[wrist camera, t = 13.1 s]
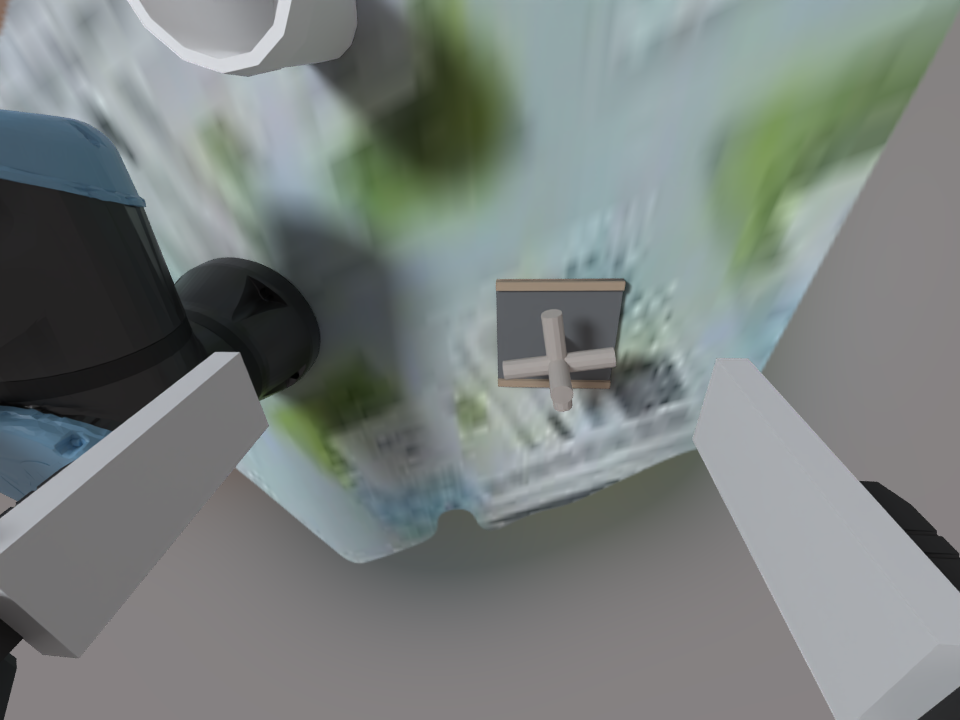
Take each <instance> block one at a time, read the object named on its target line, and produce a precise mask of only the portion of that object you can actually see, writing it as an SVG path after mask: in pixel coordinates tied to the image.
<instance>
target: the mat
mask: <svg viewBox="0 0 960 720" xmlns="http://www.w3.org/2000/svg"><path fill="white" fill-rule="evenodd" d="M625 283H626V282H625V280H624V279H497V280H496V297H497V344H498V386H499V387H549V388H550V383H549V375H544V376H536V377H527V378H519V379H510V380H505V378H504V374H503V361H506V360H514V359H522V358H530V357H538V356H545V355H546V349H545V341H544V334H543V327H542V320H541V314H542V313H543V312H544V311H547V310H550V309H557V310H561V311H562V315H563V324H564V333H565V342H566V351H567V353H569V352H577V351H585V350H593V349H601V348H609V347H613V348H614V349H615V343H616V336H617V329H618V322H619V316H620V309H621V302H622V295H623V290H624V289H625ZM611 370H612V368H604V369H595V370H587V371H578V372H570V378H571V383H572V388H599V389H610V383H611V382H610V377H611Z"/></svg>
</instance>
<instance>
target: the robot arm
mask: <svg viewBox="0 0 960 720" xmlns="http://www.w3.org/2000/svg"><path fill="white" fill-rule="evenodd" d="M144 207H146V203H145V200H144V199H143V198H141V197H140V196H139V195H138V193H137V191H136V189H135V186H134V184H133V182H132V180H131V178H130V176H129V174H128V171H127V169H126V167H125V165H124V163H123V161H122V158H121V156H120V154H119V152H118V150H117V149H116V147H115V145H114V144H113V143H112V142H111V141H110V139H109V138H108V137H107V136H105V135H104V134H103V133H102V132H100V131H99V130H98V129H96V128H94V127H93V126H91V125H89V124H87V123H84V122H81V121H78V120H75V119H71V118H65V117H58V116H51V115H43V114H35V113H27V112H19V111H10V110H1V109H0V493H2V494H4V495H6V496H8V497H10V498H12V499H14V500H16V501H17V502H16V506H15V507H10V508H8V509H7V510H6V511H4V512H3V513H2V514H1V515H0V720H4V716H5V712H6V708H7V704H8V701H9V697H10V693H11V688H12V685H13V681H14V677H15V673H16V669H17V665H16V658H15V657H14V656H12V655H11V654H10V651H12V649H13V648H14V647H15V646H16V645H17V644H18V643H19V642H20V641H21V640H22V639H24V640H25V641H26V642H28V643H29V644H30V645H31V646H33V647H34V648H35V649H36V650H37V651H39V652H40V653H41V654H42V655H51V656H60V657H71V658H80V657H81V655H82V654H83V653H84V652H85V650H86V649H87V648H88V647H89V646H90V644H91V643H92V642H93V641H94V639H95V638H96V637H97V636H98V634H99V633H100V632H101V631H102V630H103V628H104V627H105V626H106V625H107V624H108V622H109V621H110V620H111V619H112V617H113V616H114V615H115V614H116V612H117V611H118V610H119V609H120V608H121V606H122V605H123V604H124V603H125V601H126V600H127V599H128V598H129V597H130V595H131V594H132V593H133V592H134V590H135V589H136V588H137V587H138V585H139V584H140V583H141V582H142V581H143V579H144V578H145V577H146V576H147V575H148V573H149V572H150V571H151V570H152V568H153V567H154V566H155V565H156V564H157V562H158V561H159V560H160V559H161V557H162V556H163V555H164V554H165V552H166V551H167V550H168V549H169V548H170V546H171V545H172V544H173V543H174V541H175V540H176V539H177V538H178V537H179V535H180V534H181V533H182V532H183V530H184V529H185V528H186V527H187V526H188V524H189V523H190V522H191V520H192V519H193V518H194V517H195V516H196V514H197V513H198V512H199V511H200V510H201V508H202V507H203V506H204V505H205V503H206V502H207V501H208V500H209V498H210V497H211V496H212V495H213V494H214V492H215V491H216V490H217V489H218V487H219V486H220V485H221V484H222V483H223V481H224V480H225V479H226V478H227V477H228V475H229V474H230V473H231V472H232V470H233V469H234V468H235V467H236V465H237V464H238V463H239V462H240V461H241V459H242V458H243V457H244V456H245V454H246V453H247V452H248V451H249V450H250V448H251V447H252V446H253V445H254V443H255V442H256V441H257V440H258V439H259V437H260V436H261V435H262V434H263V432H264V431H265V430H266V429H267V428H268V426H269V425H268V422H267V420H266V417H265V415H264V412H263V409H262V407H261V404H260V402H259V401H260V400H263V399H265V398H267V397H269V396H271V395H273V394H275V393H277V392H279V391H281V390H284V389H286V388H288V387H290V386H291V385H293V384H295V383H296V382H297V381H298V380H300V379H301V378H302V377H303V376H304V374H305V373H306V372H307V371H308V370H309V369H310V367H311V366H312V365H313V363H314V362H315V360H316V358H317V355H318V352H319V347H320V334H319V328H318V324H317V321H316V319H315V316H314V314H313V312H312V310H311V308H310V306H309V305H308V303H307V302H306V300H305V299H304V297H303V296H302V295H301V294H300V293H299V291H298V290H297V289H296V288H295V287H294V286H293V285H292V284H291V283H289V282H288V281H287V280H286V279H285V278H283V277H282V276H280V275H279V274H278V273H276V272H274V271H273V270H271V269H269V268H267V267H265V266H263V265H261V264H258V263H256V262H253V261H249V260H245V259H240V258H218V259H213V260H210V261H208V262H205V263H203V264H201V265H199V266H197V267H195V268H193V269H191V270H189V271H188V272H186V273H185V274H184V275H182V276H181V277H180V278H179V279H178V280H177V282H176V283H175V285H174V282H173V280H172V277H171V275H170V272H169V270H168V267H167V265H166V262H165V260H164V257H163V255H162V252H161V250H160V247H159V245H158V242H157V240H156V237H155V235H154V232H153V230H152V227H151V225H150V222H149V220H148V217H147V215H146V212H145V210H144ZM692 440H693V442H694V444H695V446H696V448H697V450H698V451H699V453H700V455H701V457H702V459H703V461H704V463H705V465H706V467H707V469H708V471H709V473H710V475H711V477H712V479H713V481H714V483H715V485H716V486H717V488H718V490H719V493H720V495H721V496H722V498H723V500H724V502H725V504H726V506H727V508H728V510H729V512H730V514H731V516H732V518H733V520H734V522H735V524H736V526H737V528H738V530H739V532H740V534H741V536H742V537H743V540H744V541H745V543H746V545H747V547H748V549H749V551H750V553H751V555H752V557H753V559H754V561H755V563H756V565H757V567H758V569H759V571H760V573H761V575H762V576H763V579H764V581H765V583H766V585H767V586H768V588H769V590H770V592H771V594H772V596H773V598H774V600H775V602H776V604H777V606H778V608H779V610H780V612H781V614H782V616H783V618H784V620H785V622H786V624H787V626H788V628H789V629H790V631H791V633H792V635H793V637H794V639H795V641H796V643H797V645H798V647H799V649H800V651H801V653H802V655H803V657H804V659H805V661H806V663H807V665H808V666H809V669H810V671H811V673H812V675H813V676H814V678H815V680H816V682H817V684H818V686H819V688H820V690H821V692H822V694H823V696H824V698H825V700H826V702H827V704H828V706H829V708H830V710H831V712H832V714H833V716H834V718H835V720H960V558H959V553H958V552H957V551H956V550H955V549H954V548H953V547H952V546H951V545H950V544H949V543H948V542H947V541H946V540H945V539H944V538H943V537H942V536H938V535H937V531H936V530H935V529H934V528H933V526H932V525H931V524H930V523H929V522H928V521H927V520H926V519H925V518H924V517H923V516H922V515H921V514H920V513H918V511H917V510H916V509H915V508H914V507H913V506H912V505H911V504H909V503H908V502H906V501H905V500H903V499H902V498H900V497H899V496H898V495H896V494H895V493H893V492H892V491H890V490H888V489H887V488H886V487H884V486H883V485H881V484H880V483H878V482H869V481H858V480H857V478H856V477H855V476H854V475H853V474H852V473H851V472H850V471H849V470H848V469H847V467H846V466H845V465H843V463H842V462H841V461H840V460H839V459H838V457H837V456H836V455H835V454H834V453H833V452H832V451H831V450H830V449H829V448H828V446H827V445H826V444H825V443H824V442H823V441H822V440H821V439H820V438H819V436H818V435H817V434H816V433H815V432H814V431H813V430H812V429H811V428H810V426H809V425H808V424H807V423H806V422H805V421H804V420H803V419H802V418H801V417H800V416H799V414H798V413H797V412H796V411H795V410H794V409H793V408H792V407H791V405H790V404H789V403H788V402H787V401H786V400H785V399H784V398H783V397H782V396H781V394H780V393H779V392H778V391H777V390H776V389H775V388H774V387H773V386H772V385H771V383H770V382H769V381H768V380H767V379H766V378H765V377H764V376H763V375H762V373H761V372H760V371H759V370H758V369H757V368H756V367H755V366H754V365H753V363H752V362H751V361H750V360H749V359H742V358H716V362H715V365H714V368H713V372H712V375H711V378H710V382H709V385H708V388H707V392H706V395H705V398H704V402H703V405H702V408H701V412H700V415H699V418H698V422H697V425H696V428H695V432H694V435H693V438H692Z"/></svg>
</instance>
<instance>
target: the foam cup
mask: <svg viewBox="0 0 960 720" xmlns="http://www.w3.org/2000/svg"><path fill="white" fill-rule="evenodd" d="M127 1H128V2H129V4H130V5H131V7H132V8H133V10H134V12H135V13H136V15H137V16H138V18H139V19H140V21H141V23H142V24H143V26H144V27H145V28H146V29H147V30H149V31H150V32H151V33H152V34H153V35H154V36H156V37H157V38H158V39H159V40H160V41H161V42H163V43H164V44H165V45H166V46H167V47H168V48H169V49H171V50H172V51H173V52H174V53H175V54H176V55H178V56H179V57H180V58H181V59H182V60H184V61H187V62H190V63H193V64H196V65H199V66H202V67H205V68H208V69H211V70H214V71H217V72H220V73H223V74H231V75H239V76H247V77H249V76H253V75H257V74H262V73H266V72H270V71H275V70H279V69H281V68H285V67H292V66H300V65H307V64H315V63H321V62H325V61H330V60H334V59H338V58H340V57H341V56H342V54H343V53H344V52H345V51H346V50H347V49H348V48H349V47H350V46H351V45H352V42H353V38H354V35H355V31H356V28H357V25H358V22H357V9H356V0H127Z"/></svg>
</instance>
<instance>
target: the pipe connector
mask: <svg viewBox="0 0 960 720" xmlns="http://www.w3.org/2000/svg"><path fill="white" fill-rule="evenodd" d="M541 320H542V327H543V334H544V341H545V349H546V355H545V356H538V357H530V358H522V359H514V360H506V361H503V374H504V378H505V380H510V379H519V378H527V377H536V376H544V375H549V383H550V393H551V398H552V400H553V406H554V408H555V410H557V411H561V412H564V411H568V410H570V409H571V408H572V398H573V389H572V383H571V378H570V372H578V371H587V370H595V369H604V368H612V367H616V357H615V352H614V348H613V347H609V348H601V349H593V350H585V351H577V352H569V353H567V351H566V342H565V333H564V324H563V315H562V311H561V310H557V309H550V310H547V311H544V312H543V313H542V314H541Z"/></svg>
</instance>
